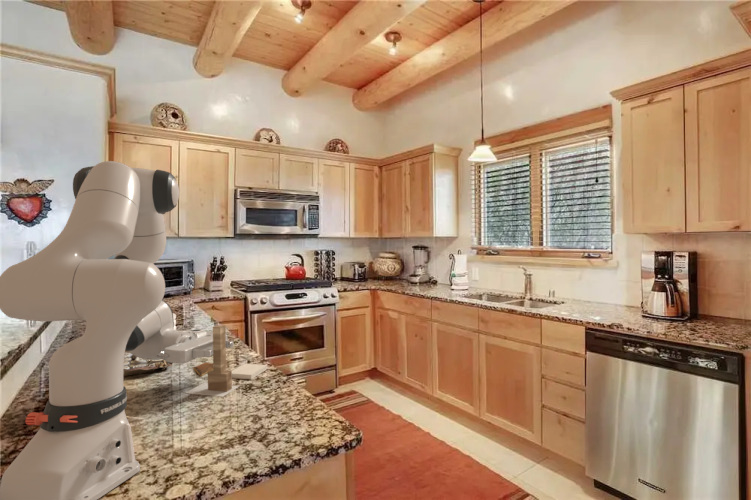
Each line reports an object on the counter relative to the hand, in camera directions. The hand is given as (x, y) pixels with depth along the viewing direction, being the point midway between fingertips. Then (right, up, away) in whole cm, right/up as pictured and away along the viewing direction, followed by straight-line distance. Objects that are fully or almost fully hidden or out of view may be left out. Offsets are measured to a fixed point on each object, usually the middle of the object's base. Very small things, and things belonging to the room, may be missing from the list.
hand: (222, 348), depth 112 cm
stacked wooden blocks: (-1, -12, 0) cm, 12 cm away
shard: (-11, -13, +18) cm, 25 cm away
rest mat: (-3, -12, 0) cm, 12 cm away
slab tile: (+2, -11, +10) cm, 15 cm away
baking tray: (-37, -12, +24) cm, 46 cm away
